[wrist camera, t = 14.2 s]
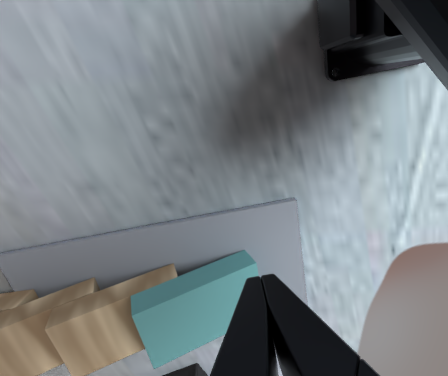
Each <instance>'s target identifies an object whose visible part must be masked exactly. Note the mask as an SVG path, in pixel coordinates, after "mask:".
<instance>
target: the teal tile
mask: <svg viewBox="0 0 448 376" xmlns="http://www.w3.org/2000/svg"><path fill="white" fill-rule="evenodd" d="M255 276H259V274H258V269H257V263H256V262H255V261H254V260H253V258H252V257H251V256H250V255H249V254H248V253H247V252H246V251H245V250H243V251H240V252H238V253H235V254H233V255H230V256H228V257H225V258H223V259H220V260H218V261H216V262H213V263H211V264H208V265H206V266H203V267H201V268H198V269H196V270H193V271H191V272H188V273H186V274H183V275H181V276H179V277H176V278H174V279H171V280H169V281H166V282H164V283H161V284H159V285H156V286H154V287H151V288H149V289H146V290H144V291H142V292H139V293H137V294H134V295H132V296H131V313H132V318H133V320H134V323H135V325H136V327H137V330H138V332H139V334H140V337H141V339H142V342H143V344H144V346H145V349H146V351H147V353H148V356H149V358H150V360H151V363H152V365H153V368H154V369H155V368H157V367H160V366H162V365H164V364H166V363H168V362H170V361H172V360H174V359H176V358H178V357H180V356H182V355H184V354H186V353H188V352H190V351H192V350H194V349H196V348H198V347H200V346H202V345H204V344H206V343H208V342H210V341H212V340H214V339H216V338H218V337H220V336H222V335H224V334H226V331H227V329H228V326H229V323H230V321H231V318H232V316H233V313H234V310H235V308H236V305H237V302H238V300H239V297H240V294H241V292H242V289H243V286H244V284H245V281H246V279H247V278H249V277H255Z"/></svg>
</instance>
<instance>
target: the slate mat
mask: <svg viewBox="0 0 448 376" xmlns="http://www.w3.org/2000/svg"><path fill="white" fill-rule="evenodd" d="M243 250H245V251H246V252H247V253H248V254H249V255H250V256H251V257H252V258H253V260H254V261H255V262H256V263H257V269H258V274H259V276H260V278H261V276H262V275H266V274H275V275H276V276H277V277H278V278H279V279H280V280H281V281H282V282H283V283H285V284H286V285H287V286H288V287H289V288H290V289H291V290H292V291H293V292H294V293H295V294H296V295H297V296H298V297H299V298H300V299H301V300H302V301H303V302H304V303H305V304H306V305H307V306H308V302H307V293H306V284H305V274H304V265H303V256H302V246H301V237H300V228H299V218H298V209H297V200H296V199H295V198H290V199H285V200H279V201H274V202H269V203H263V204H258V205H253V206H247V207H242V208H237V209H231V210H226V211H221V212H216V213H210V214H205V215H200V216H194V217H189V218H184V219H178V220H173V221H168V222H162V223H157V224H152V225H146V226H141V227H136V228H131V229H125V230H120V231H115V232H109V233H104V234H99V235H93V236H88V237H83V238H77V239H72V240H67V241H61V242H56V243H51V244H46V245H40V246H35V247H30V248H24V249H19V250H14V251H8V252H3V253H0V269H1V271H2V272H3V274H4V276H5V277H6V279H7V281H8V282H9V284H10V286H11V287H12V289H13V290H14V292H16V291H24V290H31V289H34V290H35V292H36V294H37V296H38V297H39V298H41V297H44V296H46V295H49V294H52V293H54V292H57V291H60V290H62V289H65V288H67V287H70V286H73V285H75V284H78V283H80V282H83V281H86V280H88V279H91V278H93V277H95V279H96V281H97V284H98V286H99V288H100V290H103V289H106V288H108V287H111V286H114V285H116V284H119V283H122V282H124V281H127V280H130V279H132V278H135V277H138V276H140V275H143V274H146V273H148V272H151V271H154V270H156V269H159V268H162V267H164V266H167V265H170V264H172V263H174V266H175V269H176V272H177V276H178V277H179V276H181V275H183V274H186V273H188V272H191V271H193V270H196V269H198V268H201V267H203V266H206V265H208V264H211V263H213V262H216V261H218V260H220V259H223V258H225V257H228V256H230V255H233V254H235V253H238V252H240V251H243Z"/></svg>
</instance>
